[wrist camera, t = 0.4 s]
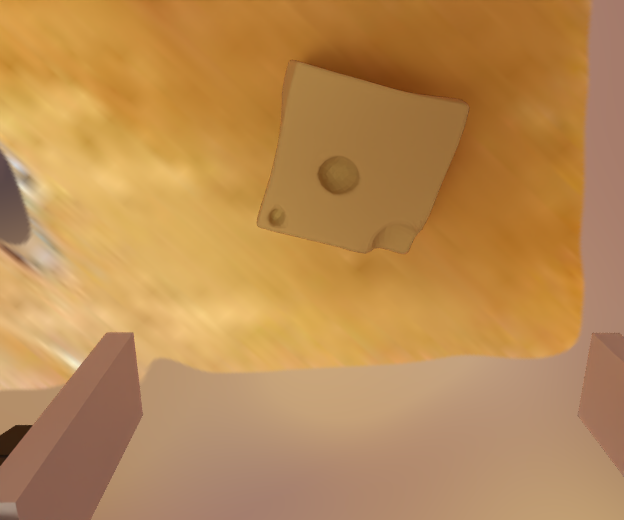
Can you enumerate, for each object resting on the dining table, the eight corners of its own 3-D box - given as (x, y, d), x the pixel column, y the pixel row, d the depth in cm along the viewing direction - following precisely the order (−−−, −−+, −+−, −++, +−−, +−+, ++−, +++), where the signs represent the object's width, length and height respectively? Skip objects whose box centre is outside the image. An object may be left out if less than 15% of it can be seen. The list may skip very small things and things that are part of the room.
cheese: (395, 231, 43) (417, 275, 34) (259, 195, 42) (243, 230, 33) (439, 96, 40) (478, 103, 30) (294, 54, 39) (287, 48, 30)
